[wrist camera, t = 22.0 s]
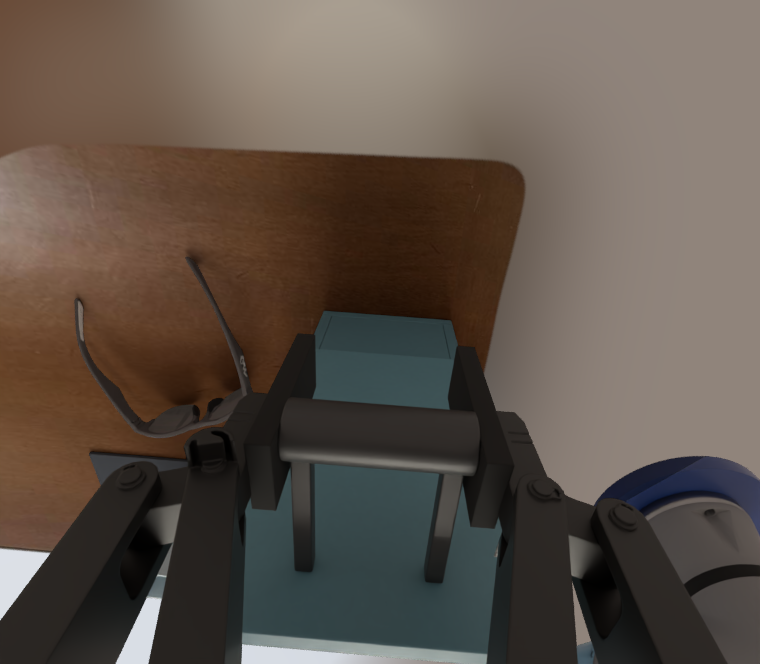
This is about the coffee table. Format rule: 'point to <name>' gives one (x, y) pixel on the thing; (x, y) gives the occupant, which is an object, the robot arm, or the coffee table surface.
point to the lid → (373, 520)
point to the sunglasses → (179, 416)
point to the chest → (386, 335)
